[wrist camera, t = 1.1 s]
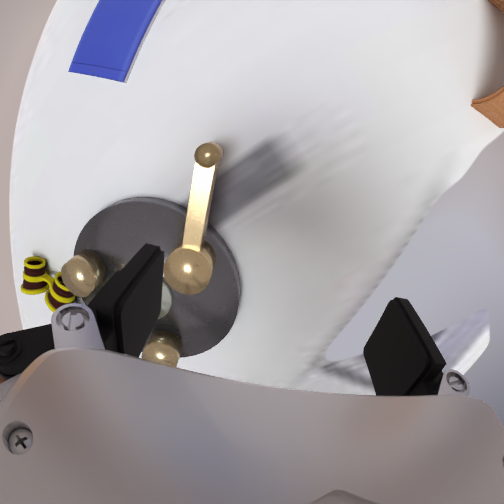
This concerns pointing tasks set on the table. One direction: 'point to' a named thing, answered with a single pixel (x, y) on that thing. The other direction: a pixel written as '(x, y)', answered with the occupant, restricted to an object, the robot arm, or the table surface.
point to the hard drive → (114, 38)
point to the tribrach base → (173, 303)
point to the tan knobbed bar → (196, 228)
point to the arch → (497, 104)
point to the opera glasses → (45, 284)
